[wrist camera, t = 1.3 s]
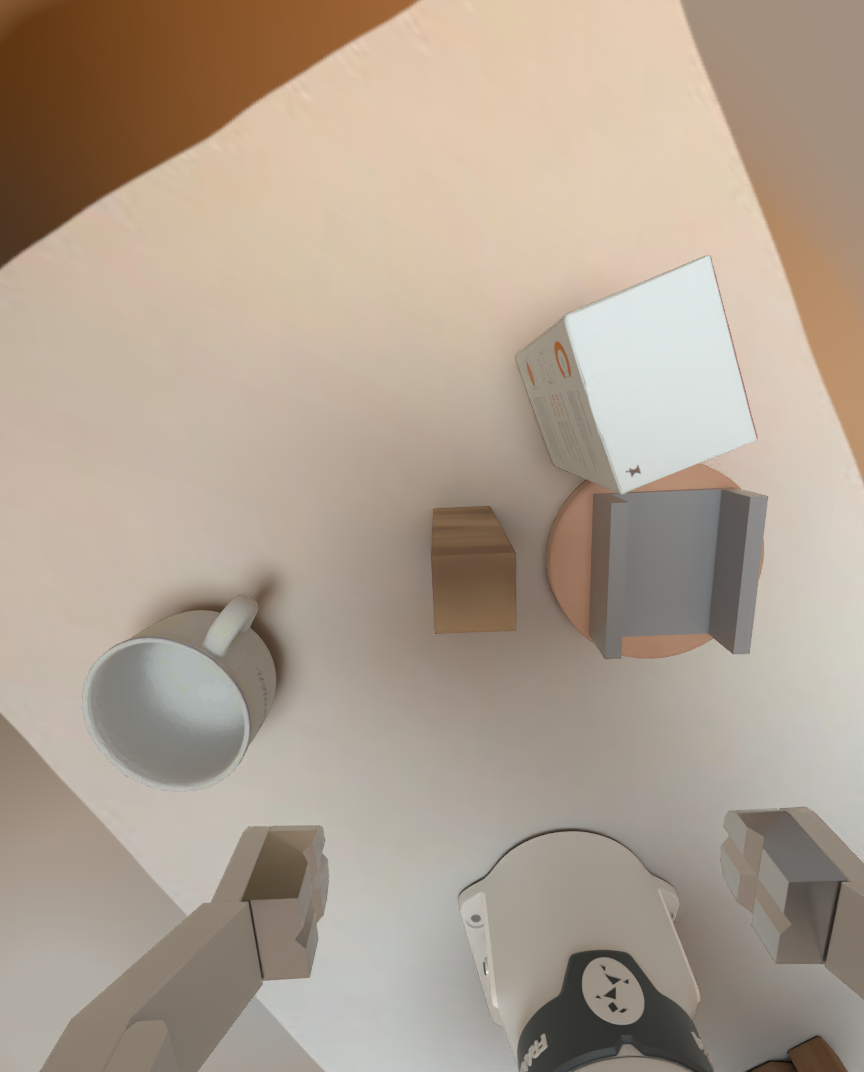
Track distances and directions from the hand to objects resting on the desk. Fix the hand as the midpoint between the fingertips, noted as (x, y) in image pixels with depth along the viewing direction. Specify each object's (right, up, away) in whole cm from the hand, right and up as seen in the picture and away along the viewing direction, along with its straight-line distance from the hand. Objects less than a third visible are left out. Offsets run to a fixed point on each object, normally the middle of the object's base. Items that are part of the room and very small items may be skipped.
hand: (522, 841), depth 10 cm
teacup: (-17, -2, +28) cm, 33 cm away
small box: (+8, +16, +23) cm, 29 cm away
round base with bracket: (+13, +5, +26) cm, 29 cm away
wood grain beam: (0, +6, +26) cm, 26 cm away
